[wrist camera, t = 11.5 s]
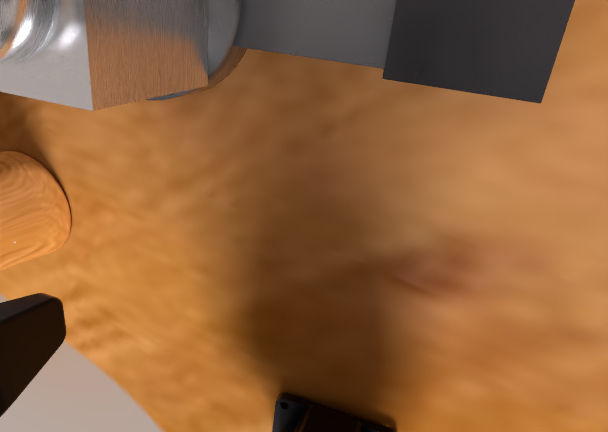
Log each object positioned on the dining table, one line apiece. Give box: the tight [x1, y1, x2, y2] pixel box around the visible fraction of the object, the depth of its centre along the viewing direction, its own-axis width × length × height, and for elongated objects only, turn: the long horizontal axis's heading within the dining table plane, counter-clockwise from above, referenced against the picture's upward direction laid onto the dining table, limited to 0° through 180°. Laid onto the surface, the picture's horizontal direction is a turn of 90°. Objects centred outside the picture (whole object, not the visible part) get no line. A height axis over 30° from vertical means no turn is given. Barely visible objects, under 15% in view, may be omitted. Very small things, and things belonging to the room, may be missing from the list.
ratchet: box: [145, 0, 575, 103], centre depth 14 cm, size 18×8×6 cm, turn 83°
